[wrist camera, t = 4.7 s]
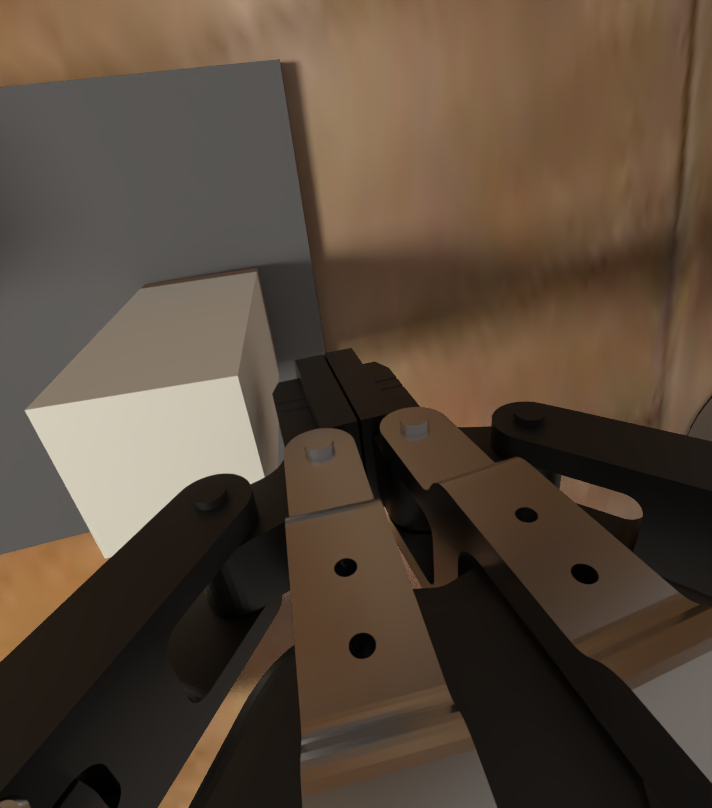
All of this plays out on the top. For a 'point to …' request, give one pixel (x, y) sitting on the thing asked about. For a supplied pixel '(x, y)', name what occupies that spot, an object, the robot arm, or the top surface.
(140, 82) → the mat
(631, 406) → the top surface
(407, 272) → the top surface
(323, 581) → the robot arm
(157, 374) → the cream block
